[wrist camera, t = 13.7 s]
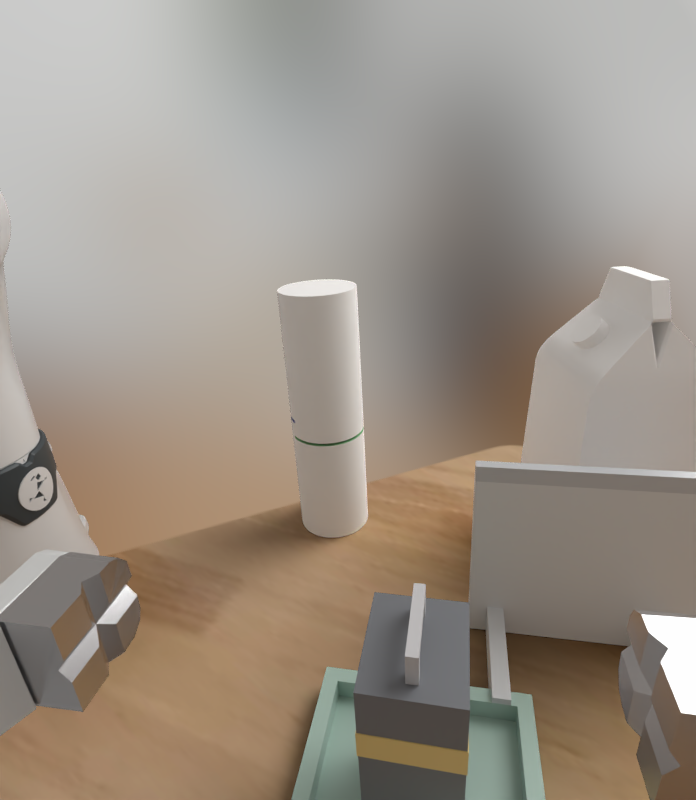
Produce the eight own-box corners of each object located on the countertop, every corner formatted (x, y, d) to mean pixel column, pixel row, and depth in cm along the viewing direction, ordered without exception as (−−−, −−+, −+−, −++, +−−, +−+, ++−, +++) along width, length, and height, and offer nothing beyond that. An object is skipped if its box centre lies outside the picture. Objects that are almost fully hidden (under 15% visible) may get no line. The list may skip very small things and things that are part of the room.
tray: (264, 939, 26) (258, 919, 25) (329, 685, 38) (326, 666, 37) (565, 1016, 23) (570, 995, 22) (529, 714, 35) (531, 694, 35)
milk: (690, 583, 45) (772, 283, 35) (559, 592, 45) (602, 294, 35) (619, 502, 56) (665, 256, 46) (513, 510, 56) (535, 264, 46)
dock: (469, 719, 35) (479, 539, 29) (467, 616, 43) (475, 457, 37) (735, 759, 32) (810, 566, 26) (680, 639, 40) (728, 470, 34)
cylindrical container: (355, 492, 61) (342, 276, 51) (377, 527, 55) (368, 289, 45) (295, 506, 59) (270, 285, 49) (311, 544, 53) (286, 300, 43)
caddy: (364, 858, 28) (349, 666, 22) (381, 745, 34) (372, 566, 28) (461, 879, 27) (473, 683, 21) (462, 759, 32) (471, 576, 27)
